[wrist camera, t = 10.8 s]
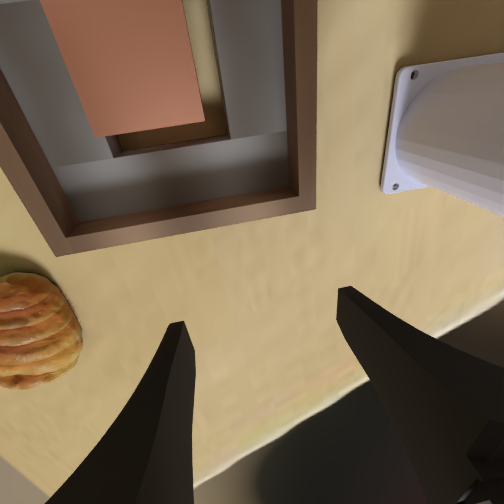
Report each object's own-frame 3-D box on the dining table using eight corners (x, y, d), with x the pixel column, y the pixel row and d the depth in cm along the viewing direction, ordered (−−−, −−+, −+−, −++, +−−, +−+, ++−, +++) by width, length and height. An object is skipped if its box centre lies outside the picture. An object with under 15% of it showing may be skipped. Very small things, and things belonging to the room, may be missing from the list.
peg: (186, 23, 14) (175, -29, 8) (203, 110, 16) (205, 121, 10) (107, 32, 13) (34, -13, 8) (135, 120, 16) (95, 138, 10)
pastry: (-35, 263, 18) (-84, 300, 15) (75, 268, 20) (52, 302, 17) (3, 354, 23) (-28, 397, 20) (90, 352, 25) (74, 392, 21)
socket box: (283, -152, 11) (319, -254, 8) (295, 188, 19) (315, 209, 16) (-96, -123, 10) (-242, -229, 7) (82, 226, 18) (55, 257, 15)
